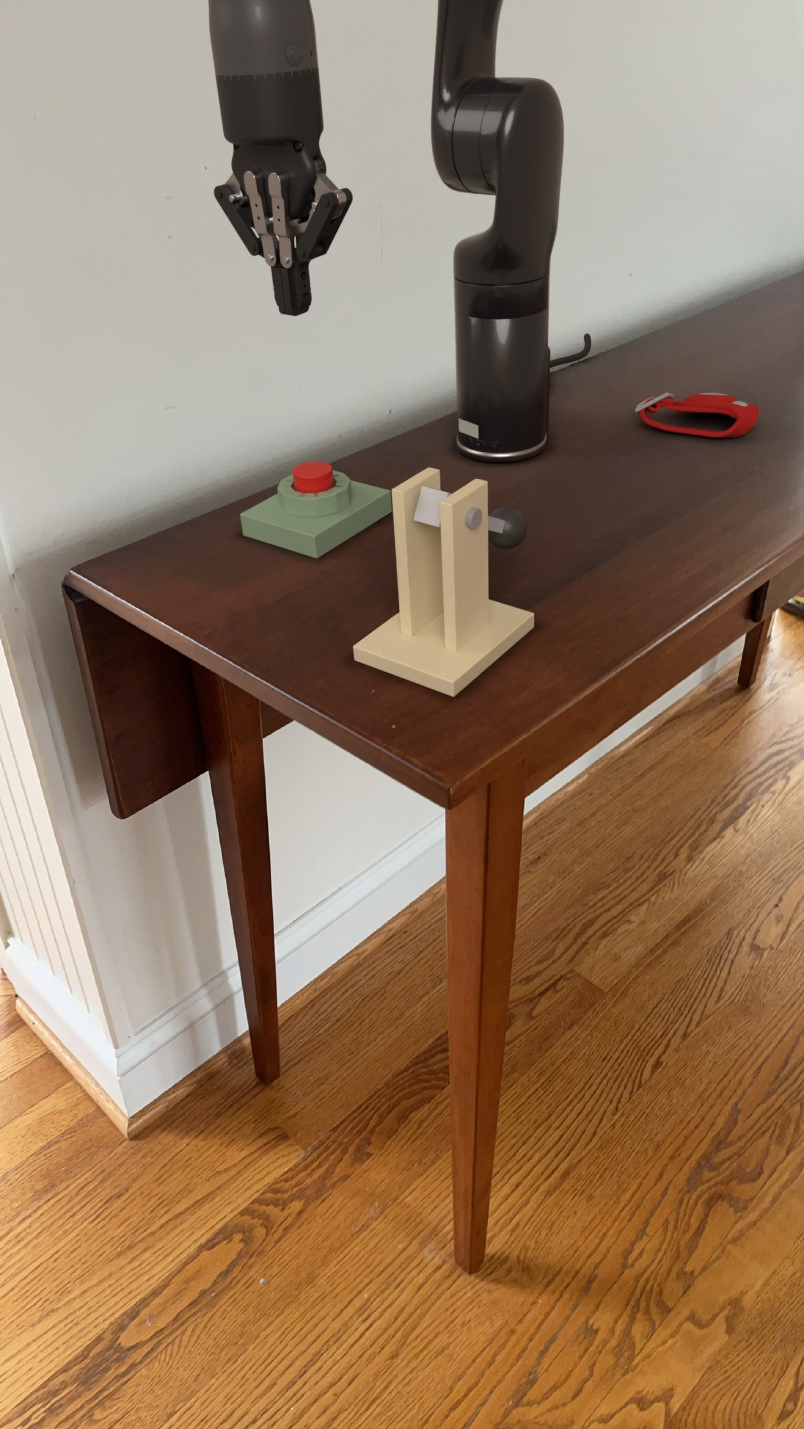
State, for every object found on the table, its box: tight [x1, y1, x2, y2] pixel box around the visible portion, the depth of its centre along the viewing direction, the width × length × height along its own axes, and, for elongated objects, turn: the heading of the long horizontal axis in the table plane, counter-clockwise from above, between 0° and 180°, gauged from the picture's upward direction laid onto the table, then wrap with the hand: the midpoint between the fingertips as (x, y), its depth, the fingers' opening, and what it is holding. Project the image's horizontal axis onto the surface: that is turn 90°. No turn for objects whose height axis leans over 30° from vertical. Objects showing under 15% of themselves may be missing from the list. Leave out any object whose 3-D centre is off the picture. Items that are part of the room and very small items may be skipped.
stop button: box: [292, 461, 334, 493], centre depth 93 cm, size 4×4×2 cm
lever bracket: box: [352, 467, 535, 698], centre depth 74 cm, size 11×9×13 cm
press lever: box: [413, 486, 528, 550], centre depth 75 cm, size 13×3×3 cm, turn 143°
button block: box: [239, 470, 393, 559], centre depth 94 cm, size 11×9×4 cm
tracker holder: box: [634, 392, 760, 439], centre depth 108 cm, size 12×4×10 cm
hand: (294, 312), depth 84 cm, fingers closed
